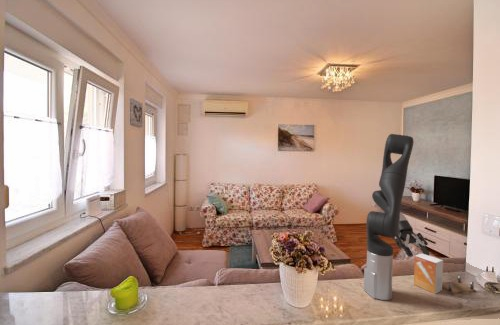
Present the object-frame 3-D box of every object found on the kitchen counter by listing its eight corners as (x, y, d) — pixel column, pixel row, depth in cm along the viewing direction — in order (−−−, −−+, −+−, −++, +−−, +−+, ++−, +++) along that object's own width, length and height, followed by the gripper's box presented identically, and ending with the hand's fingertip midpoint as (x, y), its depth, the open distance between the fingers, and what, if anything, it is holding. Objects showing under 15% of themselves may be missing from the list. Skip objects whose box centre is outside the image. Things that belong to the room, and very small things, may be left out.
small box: (413, 284, 101) (414, 255, 101) (421, 281, 104) (421, 252, 104) (435, 294, 94) (436, 262, 94) (442, 290, 97) (443, 260, 96)
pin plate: (451, 294, 94) (451, 284, 94) (434, 284, 101) (435, 276, 101) (475, 291, 96) (476, 283, 96) (457, 282, 103) (458, 274, 103)
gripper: (391, 219, 110) (411, 253, 99) (416, 219, 113) (438, 251, 101) (382, 227, 116) (400, 260, 104) (407, 226, 118) (427, 258, 107)
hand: (419, 255), depth 103 cm, fingers open, 8 cm apart
